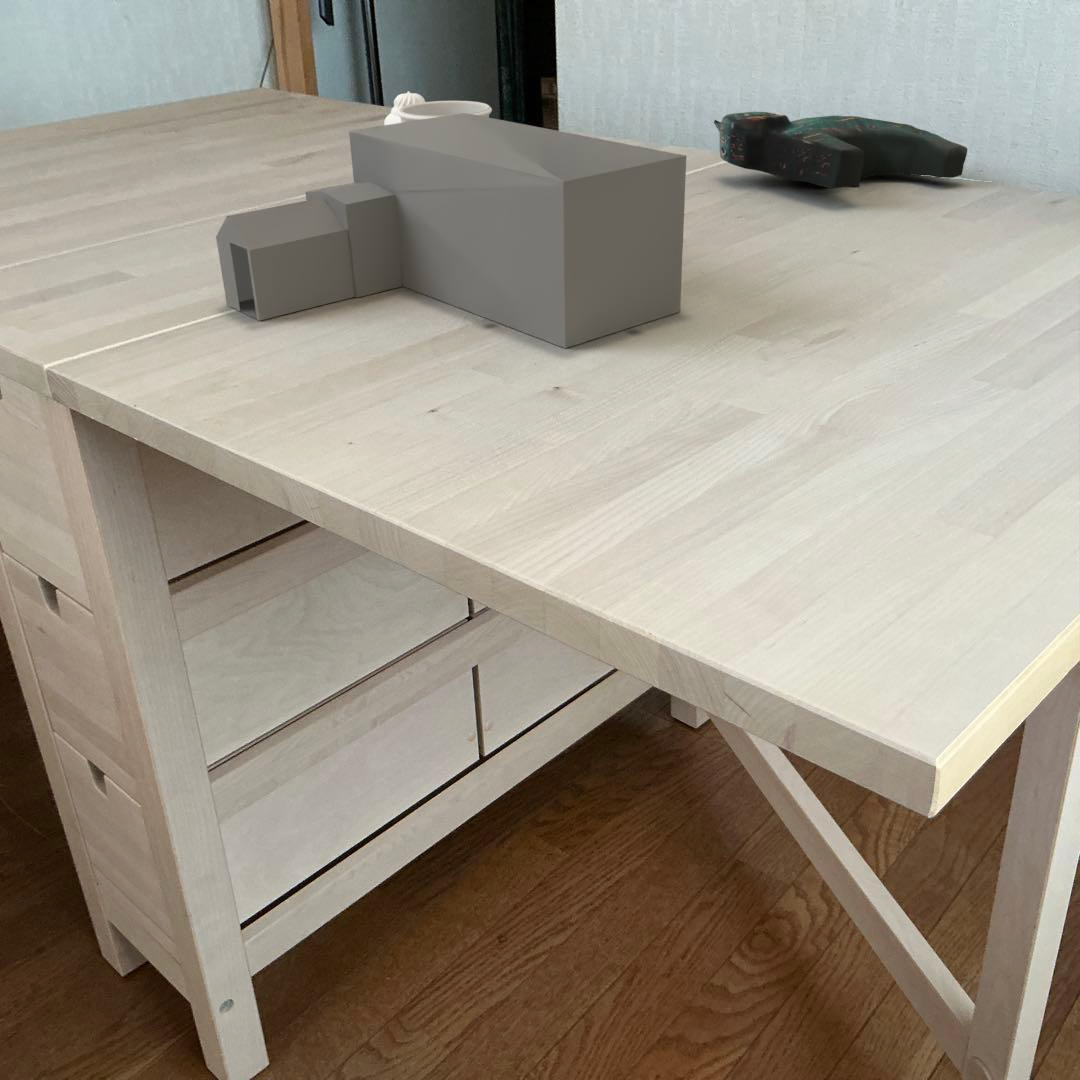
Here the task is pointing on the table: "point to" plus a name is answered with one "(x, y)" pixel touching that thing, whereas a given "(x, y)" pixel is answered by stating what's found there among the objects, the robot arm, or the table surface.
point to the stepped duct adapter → (476, 229)
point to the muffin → (401, 102)
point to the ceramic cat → (835, 148)
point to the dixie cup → (442, 109)
